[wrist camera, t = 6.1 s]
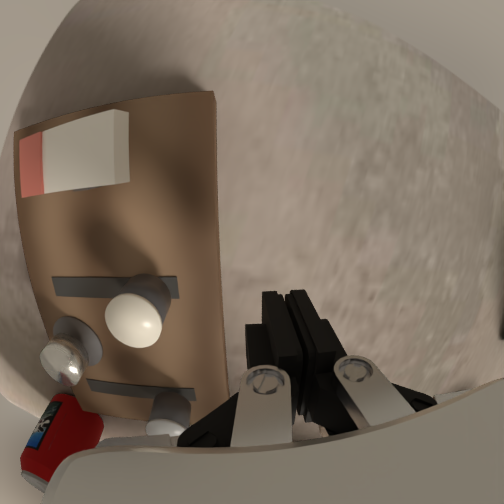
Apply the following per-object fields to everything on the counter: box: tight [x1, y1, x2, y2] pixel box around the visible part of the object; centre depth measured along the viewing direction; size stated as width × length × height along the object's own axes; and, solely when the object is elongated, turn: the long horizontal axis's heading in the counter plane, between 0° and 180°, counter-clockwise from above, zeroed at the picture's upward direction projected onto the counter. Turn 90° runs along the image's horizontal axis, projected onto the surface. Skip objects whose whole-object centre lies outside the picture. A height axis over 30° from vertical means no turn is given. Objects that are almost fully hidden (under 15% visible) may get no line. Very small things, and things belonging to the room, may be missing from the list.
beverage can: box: [20, 394, 104, 493], centre depth 18 cm, size 7×7×12 cm
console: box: [14, 91, 230, 424], centre depth 17 cm, size 14×24×5 cm, turn 0°
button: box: [40, 333, 89, 386], centre depth 15 cm, size 3×3×2 cm
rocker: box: [19, 109, 130, 198], centre depth 11 cm, size 7×3×1 cm, turn 91°
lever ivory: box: [105, 273, 171, 348], centre depth 14 cm, size 3×3×4 cm
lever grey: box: [146, 392, 191, 437], centre depth 17 cm, size 3×3×4 cm
